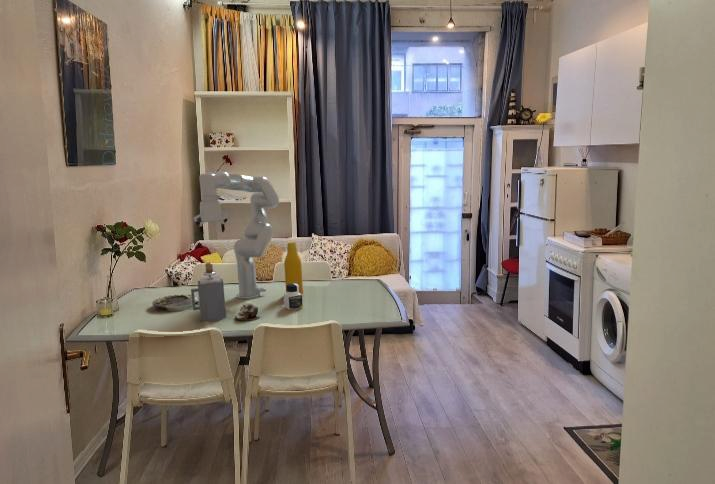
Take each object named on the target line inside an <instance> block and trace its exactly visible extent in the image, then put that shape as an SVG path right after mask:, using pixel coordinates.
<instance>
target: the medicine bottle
mask: <svg viewBox="0 0 715 484" xmlns="http://www.w3.org/2000/svg"><path fill="white" fill-rule="evenodd" d="M286 290H287V293H286V292H285V293H283V299H284V300H283V301H284V308H286V309H287V310H289V311H293V310H299V309H303V307H304V306H303V294H300V293H299V285H298V284H295V283H292V284H288V285H287V286H286V285H285V291H286Z"/></svg>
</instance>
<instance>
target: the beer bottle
mask: <svg viewBox="0 0 715 484" xmlns="http://www.w3.org/2000/svg"><path fill="white" fill-rule="evenodd" d="M286 247H287V248H286V249H287V250H286V251H287V252H286V256H285V259H284V262H283V263H284V265H283V266H284V277H285V278H284V279H285V283H284V284H285V287H286V286H287V285H288V284H292V283H295V284H298V285H299V293H300V294H302V295H303V294H304V287H303V285H304V284H303V267H302V260H301V257H300V255H299V253H298V249H297V242H296V241H288V242H287V246H286ZM285 293H287V290H286V289H285Z"/></svg>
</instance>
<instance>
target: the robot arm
mask: <svg viewBox="0 0 715 484" xmlns="http://www.w3.org/2000/svg"><path fill="white" fill-rule="evenodd" d="M199 187H200V197H201V201H200V203H199V214H197V215H195V216H194V217H193V221H194V223H195V224H197V225H198V226H199V231H200V234H202V235H205V231H204V224H205V223H213V222H220V227H221V233H224V232H225V231H226V228H225V224H226V223H227V222H228V220H229V218H230V214H229V213H226V212H223V211H222V207H221V203H220V202H221V201H220V200H219V199H221V195H218V192H217V190H218V189H222V190H230V191H238V192H246V193H252V194H251V196H250V201H249V202H250V205H251V210H252V214H251V217H250V219H249V221H248V223H247V225H246V227H245V229H244V237H245V238H239V239H237V240H236V241H235V243H234V244H233V252H234V255H235V259H236V260H235V261H236V268H237V281H238V291H239V293H237V294H236V298H237V299H238V300H239V299H241V300H249V299H255V298H259V297H260V296H261V293H262V292H263V293H264V292H266V288H265V287H259V288H258V286H257V273H256V272H257V270H256V263H255V260H254V258H261V257H263V255H265V253H266V252H267V249H268V247H269V245H270V243H271V241H272V238H273V234H274V229H273V227H272V225H271V224H269V223H267V222H268V215H267V213H266V210H265V209H275V208H277V207H278V205H279V201H280V198H279V195H278V193H277V191H276V190H275V188H274V186H273V184H272V183H271V181H270V180H269V179H268V178H267V177H266V176H250V175H246V174H245V175H244V174H240V173H239V174H238V173H228V172H226V171H209V172H208V171H207V172H205V173H201V174H199ZM223 216H224V217H225V218H224V219H223ZM199 218H200V220H201V221H198V219H199Z"/></svg>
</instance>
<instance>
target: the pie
mask: <svg viewBox="0 0 715 484" xmlns="http://www.w3.org/2000/svg"><path fill="white" fill-rule="evenodd" d="M194 298H195V304H196V305H197V306H200V305H199V298H198V297H197V296H195V295H194ZM152 305H153V306H154V307H156V310H158V311H162V312H179V310H180V311H184V312H186V311H187V310H188V309H191V307H192V308H193V306H192V295H191V294H173V295H171V294H170V295H167V296H163V297H159V298H157V299H154V300H152ZM183 309H184V310H183Z"/></svg>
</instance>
